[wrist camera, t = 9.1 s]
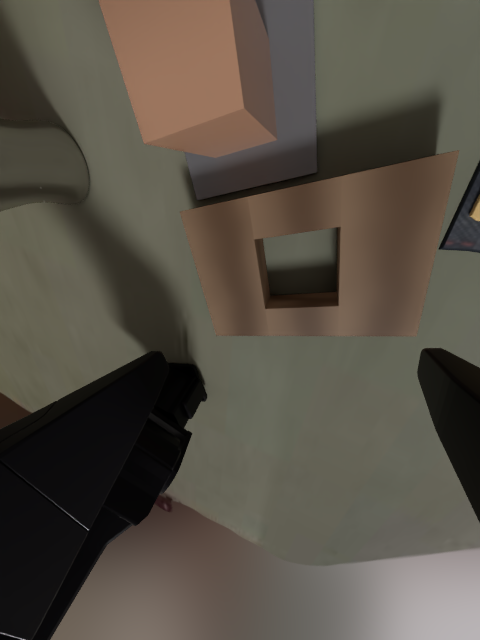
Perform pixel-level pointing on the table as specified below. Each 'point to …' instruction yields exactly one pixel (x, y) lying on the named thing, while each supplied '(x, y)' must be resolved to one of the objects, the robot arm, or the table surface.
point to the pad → (290, 110)
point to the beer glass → (40, 165)
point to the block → (195, 72)
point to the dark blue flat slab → (466, 220)
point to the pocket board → (352, 251)
